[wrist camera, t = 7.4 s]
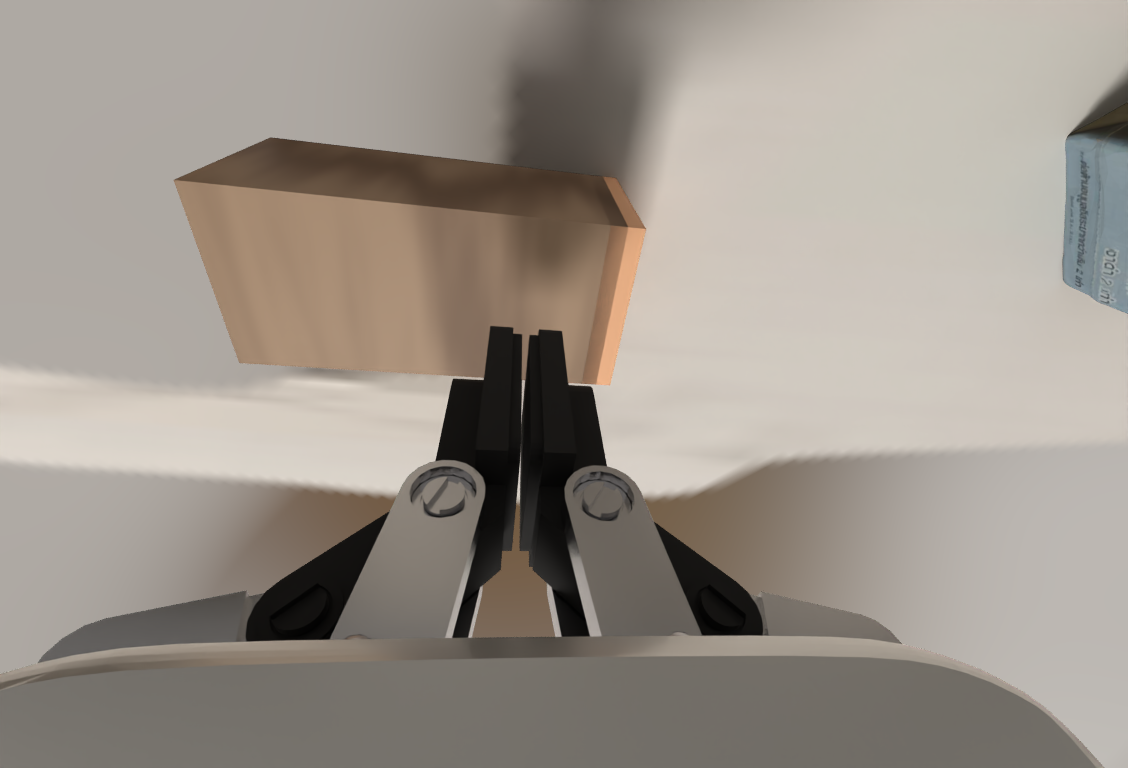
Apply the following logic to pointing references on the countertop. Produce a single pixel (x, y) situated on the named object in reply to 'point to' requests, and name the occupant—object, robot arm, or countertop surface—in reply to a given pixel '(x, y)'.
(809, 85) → the countertop surface
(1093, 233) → the beverage carton
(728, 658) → the robot arm
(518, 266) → the wooden block
